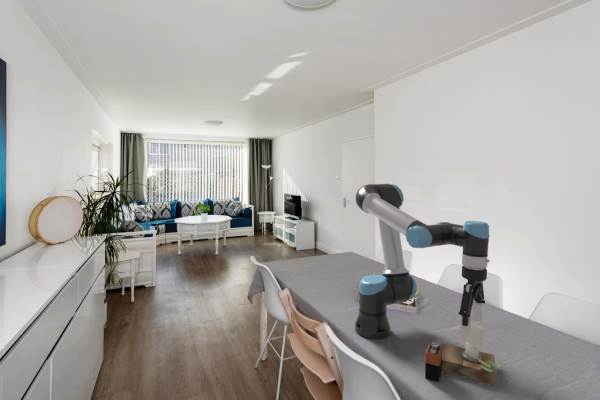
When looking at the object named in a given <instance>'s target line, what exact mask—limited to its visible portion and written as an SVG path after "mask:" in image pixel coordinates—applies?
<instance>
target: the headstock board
mask: <svg viewBox="0 0 600 400" xmlns="http://www.w3.org/2000/svg"><path fill="white" fill-rule="evenodd" d="M433 343H435V344H437V345H438V346H440V347H442V372H444V373H448V374H452V375H455V376H459V377H464V378H466V379H471V380H475V381H478V382H482V383H486V384H490V385H494V386H497V374H498V372H497V370H498V369H499V368H501V365H499V364H496V360H495V358H496V357H495V354H491V353H487V352H483V351H479V353H478V354H479V355H480V356H481V357H482V361H484V362H485V363H487V364H489V365H490V366H491V368H488V367H486V366H485V365H483V364H481V363H480V362H479V363H473V362H469V361H467V360H465V359H464V358H463V357H462V352H464V351H465V347H461V346H455V345H451V344H448V343H447V344H446V343H442V342H437V341H432V343H431V344H433Z"/></svg>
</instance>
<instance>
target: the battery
mask: <svg viewBox="0 0 600 400" xmlns="http://www.w3.org/2000/svg"><path fill="white" fill-rule="evenodd" d="M432 343H433V342H432ZM432 343H430V344H428V345H427V348H426V351H425V359H424V360H425V362H424V363H425V366H424V369H425V370H424V374H425V375H424V378H425V379H426V380H429V381H432V382H435V383H439V382H440V379H441V377H442V372H443V371H442V347H440V346H438V345H437V344H435V343H433V344H432Z"/></svg>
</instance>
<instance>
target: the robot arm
mask: <svg viewBox="0 0 600 400" xmlns="http://www.w3.org/2000/svg"><path fill="white" fill-rule="evenodd" d="M404 199H405V198H404V192H403V191H402V190H401V187H398V186H397V184H392V183H377V184H376V183H367V184H365V185H363V186H361V187H360V188H359V189H358V190H357V191H356V194H355V204H356V205H357V207H358V208H359V209H360V210H361V211H363V212H364V213H365V214H369V215H373V216H375V218H377V220H378V225H379V227H378V228H379V233H380V239H381V240H380V241H381V248H382V254H383V262H384V270H383V272H382V273H381V274H382V275H381V274H368V275H365V276H363V277H361V279H360V281H359V286H358V292H359V293H358V295H359V296H358V298H359V299H358V301H359V302H358V304H359V305H358V314H357V316H356V317H357V318H356V320H355V323H354V331H355V332H356V334H358V335H359V336H362V337H364V338H367V339H373V340H377V339H379V340H380V339H381V340H382V339H384V338H387V337H389V336H390V335H391V331H392V330H391V323H390V322H389V318H388V314H387V308H388V307H387V306H390V305H396V304H399V303H406V302H407V301H411V300H413V298H414V297H415V296H416V294H417V289H418V287H417V282H416V280H415V279H414V277H413V275H412V274H410V272H409V271H410V270H408V269H407V268H406V267H405V262H404V254H403V246H402V240H401V234H402V235H403V236H405V239H406V242H407V243H408V245H409V246H410V247H412V248H414V249H425V248H429V247H430V248H431V247H438V246H439V247H440V246H449V245H452V246H457V247H461V248H462V258H461V260H462V261H461V265H462V266H461V277H462V278H464V279H466V280H467V282H465V283H464V284H463V291H462V296H461V297H462V298H461V303H460V308H459V311H458V315H459V316H461V317H460V318H461V319H460V335H462V334H464V335H467V336H470V329H471V322H472V320H473V321H476V322H479V323H482V321H483V319H482V317H483V316H482V315H483V305H485V304H486V300H485V294H484V293H485V292H484V282H485V281H487V279H488V276H487V275H488V269H487V268H488V263H489V262H490V259H488V256H489V253H488V252H489V242H490V241H489V240H490V225H489V223H487V222H485V221H480V220H466V221H464V223H463V225H462V224H457V223H450V222H445V221H444V222H443V221H439V222H437V223H435V224H426V223H424V222H422V221H420V220H419V219H417V218H415V217H414V216H412V215H411V214H408V213H407V212H406V211H403V210H401V209H400V208H401V207H402V206H403V203H404ZM471 313H472V316H471Z"/></svg>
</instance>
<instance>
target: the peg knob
mask: <svg viewBox="0 0 600 400" xmlns="http://www.w3.org/2000/svg"><path fill="white" fill-rule="evenodd" d="M484 332H485V328H484V327H482V326H481V325H478V324H477V323H475V322H473V321H471V329H470V336H467V335H464V334H461V340H462V341H464V342H465V347H464V348H465V351H464V352H462V357H463V358H464V359H465V360H467V361H469V362H473V363H479V362H480V363H481V364H483V365H485V366H486V367H488V368H491V366H490V365H489V364H487V363H485V362H484V361H482V357H481V356H480V355H479V354H478V353H479V352H480V350H481V349H484Z"/></svg>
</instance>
